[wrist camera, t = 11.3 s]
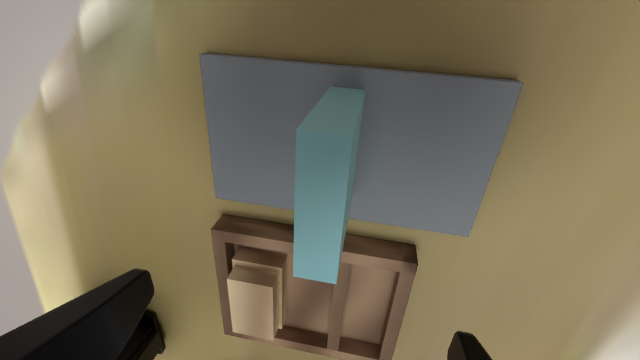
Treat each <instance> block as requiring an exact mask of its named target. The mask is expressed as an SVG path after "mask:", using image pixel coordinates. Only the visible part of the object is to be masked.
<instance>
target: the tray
mask: <svg viewBox="0 0 640 360" xmlns="http://www.w3.org/2000/svg"><path fill="white" fill-rule="evenodd" d="M211 234H212V242H213V249H214V257H215V265H216V272H217V280H218V288H219V295H220V303H221V311H222V318H223V326H224V333H225V334H226V335H231V336H236V337H240V338H245V339H250V340H254V341H259V342H263V343H268V344H273V345H277V346H282V347H287V348H291V349H296V350H301V351H305V352H310V353H315V354H319V355H324V356H328V357H333V358H338V359H342V360H392V357H393V353H394V349H395V346H396V342H397V339H398V335H399V331H400V328H401V324H402V320H403V317H404V313H405V310H406V306H407V302H408V299H409V295H410V291H411V288H412V284H413V281H414V277H415V273H416V270H417V266H418V260H417V253H416V246H415V245H410V244H404V243H398V242H391V241H385V240H379V239H373V238H367V237H360V236H354V235H348V234H345V239H344V244H343V250H342V255H341V261H340V267H339V272H338V278H337V283H336V284H332V283H326V282H321V281H315V280H310V279H304V278H299V277H293V252H294V226H292V225H286V224H280V223H273V222H267V221H261V220H255V219H249V218H242V217H236V216H230V215H224V214H223V215H222V216H221V218H220V219H219V220H218V221H217V222H216V224H215V225H214V226H213V227H212V228H211ZM239 247H244V248H250V249H255V250H261V251H267V252H273V253H278V254H284V255H287V315H286V318H285V321H284V324H283V327H282V329H277V332H276V335H275V338H274V341H272V340H268V339H263V338H258V337H254V336H249V335H244V334H240V333H235V332H233V330H232V321H231V312H230V303H229V294H228V285H227V278H228V276H229V274H230V273H231V271H232V269H233V266H232V258H233V257H234V255H235V254H236V252H237V250H238V249H239Z"/></svg>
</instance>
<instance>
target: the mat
mask: <svg viewBox="0 0 640 360" xmlns="http://www.w3.org/2000/svg"><path fill="white" fill-rule="evenodd" d="M199 55H200V64H201V73H202V81H203V90H204V99H205V108H206V116H207V125H208V134H209V142H210V151H211V160H212V169H213V177H214V186H215V195H216V198H219V199H226V200H232V201H239V202H245V203H251V204H258V205H264V206H271V207H277V208H284V209H290V210H294V207H295V161H296V129H297V128H298V127H299V125H300V124H301V123H302V122H303V120H304V119H305V118H306V117H307V115H308V114H309V113H310V112H311V110H312V109H313V108H314V107H315V105H316V104H317V103H318V102H319V100H320V99H321V98H322V97H323V95H324V94H325V93H326V92H327V90H328V89H329V88H330V87H341V88H352V89H362V90H365V97H364V105H363V113H362V121H361V129H360V137H359V145H358V154H357V162H356V170H355V178H354V186H353V194H352V200H351V206H350V211H349V217H348V218H349V219H355V220H362V221H368V222H375V223H381V224H388V225H394V226H401V227H407V228H414V229H420V230H427V231H433V232H440V233H446V234H453V235H459V236H466V237H469V234H470V231H471V229H472V226H473V223H474V220H475V217H476V215H477V212H478V209H479V206H480V203H481V201H482V198H483V195H484V192H485V189H486V187H487V184H488V181H489V178H490V176H491V173H492V170H493V167H494V164H495V162H496V159H497V156H498V153H499V150H500V148H501V145H502V142H503V139H504V136H505V134H506V131H507V128H508V125H509V122H510V120H511V117H512V114H513V111H514V108H515V106H516V103H517V100H518V97H519V94H520V92H521V89H522V86H523V82H520V81H518V80H508V79H497V78H486V77H475V76H463V75H452V74H441V73H429V72H418V71H407V70H395V69H384V68H373V67H361V66H350V65H339V64H327V63H316V62H305V61H293V60H282V59H271V58H259V57H248V56H237V55H225V54H214V53H202V54H199Z"/></svg>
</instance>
